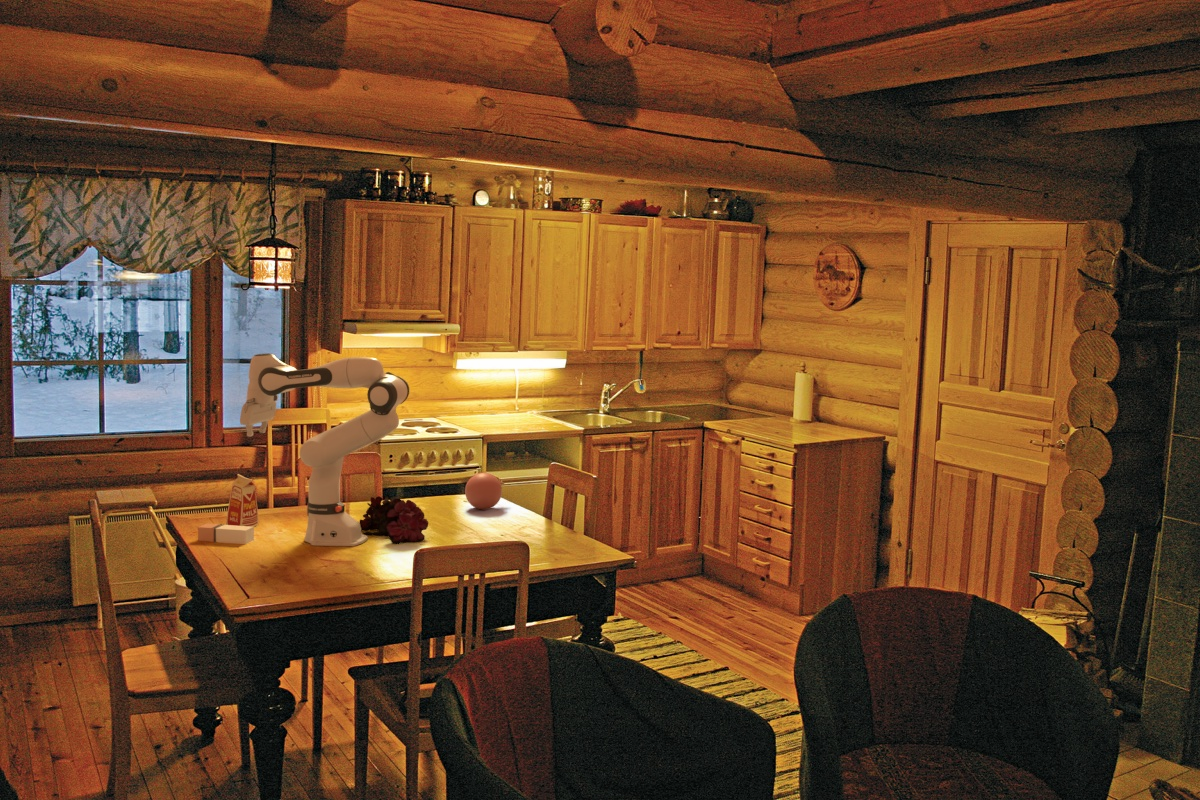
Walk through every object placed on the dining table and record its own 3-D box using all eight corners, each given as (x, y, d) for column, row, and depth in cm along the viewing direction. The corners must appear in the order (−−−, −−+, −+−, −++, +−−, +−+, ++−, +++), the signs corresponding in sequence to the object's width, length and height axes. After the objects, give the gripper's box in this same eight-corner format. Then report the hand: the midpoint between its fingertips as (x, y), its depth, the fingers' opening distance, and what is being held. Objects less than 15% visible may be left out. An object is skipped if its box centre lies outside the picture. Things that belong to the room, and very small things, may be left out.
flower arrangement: (351, 532, 404) (350, 493, 402) (394, 524, 418) (394, 486, 417) (400, 547, 383) (400, 506, 381) (443, 538, 397) (444, 499, 395)
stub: (222, 537, 387) (222, 524, 387) (213, 541, 381) (213, 527, 381) (206, 536, 388) (206, 523, 388) (198, 540, 382) (197, 526, 382)
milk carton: (225, 527, 406) (224, 475, 404) (244, 522, 415) (243, 471, 412) (243, 530, 402) (242, 477, 400) (261, 525, 410) (260, 474, 408)
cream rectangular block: (253, 540, 385) (253, 526, 385) (245, 544, 379) (245, 530, 379) (222, 538, 387) (222, 524, 387) (214, 542, 381) (214, 528, 381)
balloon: (517, 507, 453) (517, 472, 451) (482, 514, 438) (482, 477, 436) (492, 502, 463) (492, 467, 461) (457, 508, 448) (457, 472, 446)
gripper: (253, 401, 377) (250, 439, 379) (280, 395, 397) (276, 431, 399) (237, 398, 378) (233, 437, 380) (264, 392, 398) (261, 429, 400)
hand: (256, 434), depth 390 cm, fingers open, 8 cm apart
